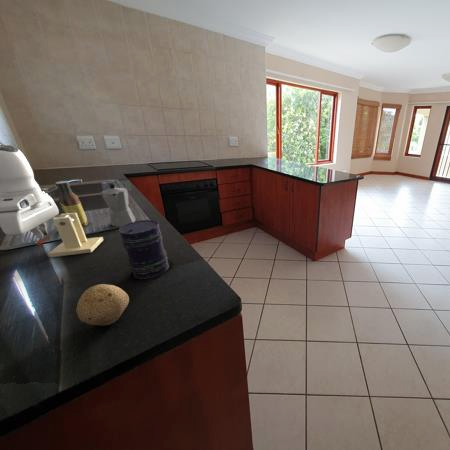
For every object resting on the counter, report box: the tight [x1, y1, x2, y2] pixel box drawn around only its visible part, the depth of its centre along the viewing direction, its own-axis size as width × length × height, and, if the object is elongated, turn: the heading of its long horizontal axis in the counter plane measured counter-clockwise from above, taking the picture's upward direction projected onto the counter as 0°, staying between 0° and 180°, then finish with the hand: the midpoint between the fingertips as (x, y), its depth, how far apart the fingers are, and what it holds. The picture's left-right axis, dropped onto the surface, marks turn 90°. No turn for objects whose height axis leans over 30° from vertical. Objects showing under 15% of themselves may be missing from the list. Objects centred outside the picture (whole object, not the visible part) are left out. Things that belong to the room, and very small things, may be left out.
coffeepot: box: [100, 183, 137, 227], centre depth 106 cm, size 15×9×18 cm, turn 35°
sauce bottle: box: [55, 180, 89, 228], centre depth 101 cm, size 7×6×20 cm
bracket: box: [47, 213, 104, 258], centre depth 84 cm, size 12×10×13 cm
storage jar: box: [118, 219, 170, 280], centre depth 71 cm, size 10×10×15 cm
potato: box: [75, 283, 130, 327], centre depth 53 cm, size 9×9×10 cm
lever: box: [35, 215, 75, 246], centre depth 82 cm, size 13×5×2 cm
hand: (42, 236), depth 82 cm, fingers closed, pressing on lever
